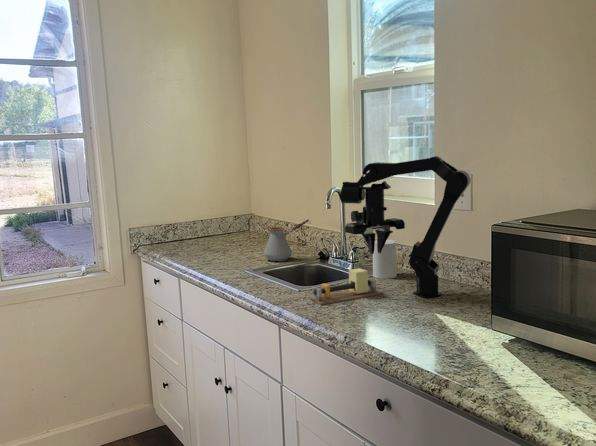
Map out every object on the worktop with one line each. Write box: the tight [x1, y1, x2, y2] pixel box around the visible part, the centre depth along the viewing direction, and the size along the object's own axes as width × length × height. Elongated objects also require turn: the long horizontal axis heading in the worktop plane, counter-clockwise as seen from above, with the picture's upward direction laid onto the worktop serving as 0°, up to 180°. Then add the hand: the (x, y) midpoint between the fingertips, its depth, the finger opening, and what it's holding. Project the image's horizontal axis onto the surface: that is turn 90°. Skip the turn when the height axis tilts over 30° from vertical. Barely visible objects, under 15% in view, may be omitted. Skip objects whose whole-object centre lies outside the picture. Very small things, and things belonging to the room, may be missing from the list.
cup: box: [372, 239, 398, 280], centre depth 198 cm, size 8×8×12 cm
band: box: [320, 283, 331, 297], centre depth 171 cm, size 3×1×3 cm, turn 26°
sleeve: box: [348, 267, 369, 294], centre depth 176 cm, size 4×4×7 cm
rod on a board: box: [307, 277, 382, 306], centre depth 174 cm, size 8×21×4 cm, turn 116°
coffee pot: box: [263, 219, 312, 262], centre depth 233 cm, size 21×12×15 cm, turn 119°
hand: (375, 253), depth 178 cm, fingers open, 2 cm apart
